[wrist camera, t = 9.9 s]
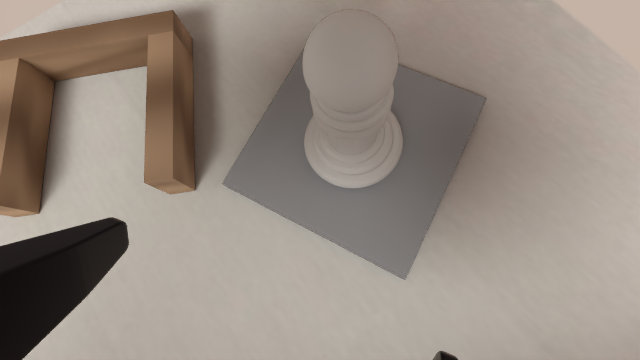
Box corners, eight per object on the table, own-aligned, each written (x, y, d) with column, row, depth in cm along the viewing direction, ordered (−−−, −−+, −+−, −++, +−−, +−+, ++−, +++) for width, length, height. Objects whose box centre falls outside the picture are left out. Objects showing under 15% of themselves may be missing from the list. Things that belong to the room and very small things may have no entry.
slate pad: (404, 279, 17) (405, 279, 16) (224, 185, 19) (221, 183, 19) (483, 101, 19) (486, 98, 19) (314, 36, 21) (314, 32, 21)
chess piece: (292, 175, 18) (240, 87, 10) (322, 92, 20) (299, -51, 11) (387, 202, 18) (422, 132, 9) (412, 114, 19) (463, -24, 10)
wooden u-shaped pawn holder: (195, 190, 19) (172, 178, 17) (15, 217, 20) (-32, 209, 17) (192, 38, 22) (173, 10, 20) (36, 65, 23) (-1, 41, 20)
